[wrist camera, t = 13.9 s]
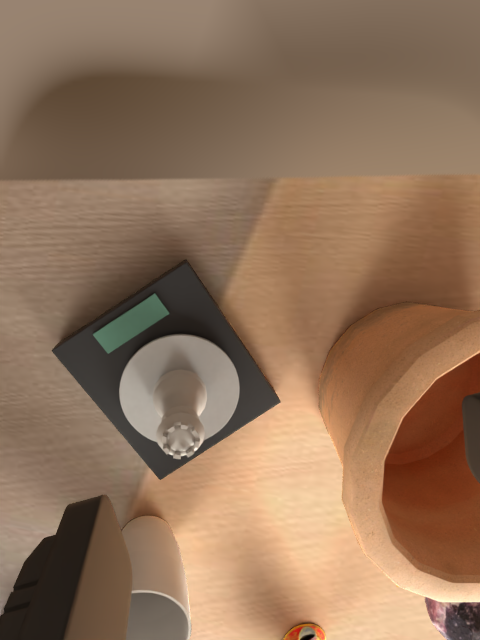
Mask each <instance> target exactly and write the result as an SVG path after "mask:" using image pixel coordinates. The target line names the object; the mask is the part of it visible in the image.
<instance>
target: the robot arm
mask: <svg viewBox="0 0 480 640" xmlns="http://www.w3.org/2000/svg"><path fill="white" fill-rule="evenodd" d="M462 416H463V429H464V442H465V455H466V460H467V463H468V466H469V468H470V470H471V472H472V474H473V476H474V477H475V479H476V480H477V481H478V482H479V483H480V392H478V393H474V394H471V395H467V396H465V397H464V399H463V401H462ZM13 588H14V592H11V594H10V596H9V598H8V601H7V603H6V605H5V607H4V614H3V615H1V617H0V640H126V634H127V626H128V618H129V609H130V601H131V593H132V566H131V560H130V555H129V552H128V549H127V546H126V543H125V540H124V538H123V535H122V532H121V529H120V526H119V523H118V521H117V518H116V515H115V512H114V509H113V507H112V504H111V501H110V499H109V498H108V496H107V495H101V496H98V497H94V498H90V499H87V500H83V501H79V502H76V503H72V504H69V505H68V506H67V507H66V509H65V511H64V514H63V517H62V519H61V522H60V525H59V527H58V530H57V533H56V535H53V536H50V537H46V538H44V539H43V540H42V541H41V542H40V544H39V545H38V546H37V547H36V548H35V550H34V551H33V552H32V553H31V555H30V556H29V557H28V558H27V559H26V561H25V562H24V564H23V566H22V569H21V571H20V573H19V575H18V578H17V580H16V582H15V585H14V587H13Z"/></svg>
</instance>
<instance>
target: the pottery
mask: <svg viewBox="0 0 480 640" xmlns="http://www.w3.org/2000/svg"><path fill="white" fill-rule="evenodd" d="M478 392H480V310H478V311H466V310H458V309H451V308H443V307H438V306H435V305H427V304H419V303H412V302H404V303H400V304H396V305H391V306H387V307H383V308H379V309H376V310H375V311H373V312H371V313H370V314H368V315H367V316H365V317H363V318H362V319H360V320H359V321H357V322H356V323H354V324H352V325H351V326H350V327H349V328H348V329H347V330H346V332H345V333H344V334H343V335H342V336H341V338H340V339H339V340H338V341H337V343H336V344H335V345H334V346H333V347H332V349H331V350H330V352H329V354H328V357H327V360H326V362H325V365H324V367H323V370H322V372H321V375H320V378H319V405H318V407H319V410H320V412H321V415H322V418H323V420H324V423H325V426H326V429H327V431H328V433H329V434H330V436H331V439H332V441H333V444H334V446H335V449H336V451H337V454H338V456H339V459H340V461H341V464H342V466H343V484H342V501H343V504H344V507H345V509H346V512H347V514H348V517H349V520H350V522H351V525H352V528H353V530H354V533H355V536H356V538H357V541H358V543H359V545H360V547H361V548H362V550H363V552H364V554H365V555H366V556H367V557H368V558H369V559H370V560H371V561H372V562H373V563H374V564H375V565H376V566H377V567H378V568H379V569H380V570H381V571H382V572H383V573H384V574H385V575H387V576H388V577H389V578H390V579H391V580H392V581H393V582H394V583H395V584H396V585H397V586H398V587H400V588H403V589H406V590H409V591H411V592H414V593H417V594H420V595H422V596H425V597H428V598H431V599H433V600H436V601H439V602H480V483H479V482H478V481H477V480H476V479H475V477H474V476H473V474H472V472H471V470H470V468H469V466H468V463H467V460H466V455H465V442H464V429H463V416H462V401H463V399H464V397H465V396H467V395H471V394H474V393H478Z"/></svg>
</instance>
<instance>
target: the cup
mask: <svg viewBox="0 0 480 640" xmlns="http://www.w3.org/2000/svg"><path fill="white" fill-rule="evenodd" d="M121 532H122V535H123V538H124V540H125V543H126V546H127V549H128V552H129V555H130V560H131V566H132V593H131V601H130V609H129V618H128V626H127V634H126V640H189V639H190V636H191V618H190V607H189V597H188V587H187V578H186V574H185V570H184V565H183V561H182V557H181V552H180V548H179V545H178V543H177V541H176V538H175V536H174V534H173V532H172V530H171V528H170V526H169V524H168V523H167V522H166V521H164V520H163V519H161V518H159V517H156V516H141V517H138V518H135V519H133V520H131V521H130V522H129V523H128V524H127V525H126V526H125V527H124V528H123V530H122V531H121Z"/></svg>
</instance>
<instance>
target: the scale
mask: <svg viewBox="0 0 480 640" xmlns="http://www.w3.org/2000/svg"><path fill="white" fill-rule="evenodd" d="M52 352H53V353H54V354H55V355H56V357H57V358H58V359H59V360H60V361H61V363H62V364H63V365H64V366H65V367H66V368H67V370H68V371H69V372H70V373H71V374H72V376H73V377H74V378H75V379H76V380H77V382H78V383H79V384H80V385H81V386H82V388H83V389H84V390H85V391H86V392H87V394H88V395H89V396H90V397H91V398H92V400H93V401H94V402H95V403H96V404H97V405H98V407H99V408H100V409H101V410H102V411H103V413H104V414H105V415H106V416H107V417H108V419H109V420H110V421H111V422H112V423H113V425H114V426H115V427H116V428H117V429H118V431H119V432H120V433H121V434H122V435H123V436H124V438H125V439H126V440H127V441H128V442H129V444H130V445H131V446H132V447H133V448H134V450H135V451H136V452H137V453H138V454H139V456H140V457H141V458H142V459H143V460H144V462H145V463H146V464H147V465H148V466H149V468H150V469H151V470H152V471H153V472H154V473H155V475H156V476H157V477H158V478H159V479H160V480H161V479H163V478H164V477H166V476H167V475H169V474H170V473H172V472H173V471H175V470H176V469H178V468H180V467H181V466H183V465H184V464H186V463H187V462H189V461H190V460H192V459H193V458H195V457H197V456H198V455H200V454H201V453H203V452H204V451H206V450H207V449H209V448H210V447H212V446H213V445H215V444H217V443H218V442H220V441H221V440H223V439H224V438H226V437H227V436H229V435H230V434H232V433H234V432H235V431H237V430H238V429H240V428H241V427H243V426H244V425H246V424H247V423H249V422H251V421H252V420H254V419H255V418H257V417H258V416H260V415H261V414H263V413H264V412H266V411H267V410H269V409H271V408H272V407H274V406H275V405H277V404H278V403H280V400H279V398H278V396H277V394H276V393H275V391H274V390H273V388H272V387H271V385H270V384H269V382H268V381H267V379H266V378H265V376H264V375H263V373H262V372H261V370H260V369H259V367H258V366H257V364H256V363H255V361H254V360H253V358H252V357H251V355H250V354H249V352H248V351H247V349H246V348H245V346H244V345H243V343H242V342H241V340H240V339H239V337H238V336H237V334H236V333H235V331H234V330H233V328H232V327H231V325H230V324H229V322H228V321H227V319H226V318H225V316H224V315H223V313H222V312H221V310H220V309H219V307H218V306H217V304H216V303H215V301H214V300H213V298H212V297H211V295H210V294H209V292H208V291H207V289H206V288H205V286H204V285H203V283H202V282H201V280H200V279H199V277H198V276H197V275H196V273H195V272H194V270H193V269H192V267H191V266H190V264H189V263H188V261H187V260H184V261H183V262H181V263H180V264H178V265H177V266H175V267H174V268H172V269H171V270H169V271H168V272H166V273H164V274H163V275H161V276H160V277H158V278H157V279H155V280H154V281H152V282H151V283H149V284H148V285H146V286H145V287H143V288H142V289H140V290H139V291H137V292H136V293H134V294H132V295H131V296H129V297H128V298H126V299H125V300H123V301H122V302H120V303H119V304H117V305H116V306H114V307H113V308H111V309H110V310H108V311H107V312H105V313H104V314H102V315H101V316H99V317H97V318H96V319H94V320H93V321H91V322H90V323H88V324H87V325H85V326H84V327H82V328H81V329H79V330H78V331H76V332H75V333H73V334H72V335H70V336H69V337H67V338H65V339H64V340H62V341H61V342H59V343H58V344H57V345H56V346H55V347H54V349H53V350H52ZM180 369H181V370H187V371H191V372H193V373H194V374H196V375H198V376H199V377H200V378H201V379H202V381H203V382H204V384H205V386H206V392H207V396H206V397H207V400H206V404H205V408H204V410H203V411H202V413H201V414H200V415H199V419H200V422H201V423H202V425H203V427H204V432H205V436H204V440H203V443H202V444H201V445H200V447H199V448H198V449H197V450H196V451H194V454H193V455H191V456H190V457H187V455H184V456H181V459H175V458H173V455H170V454H166V453H165V452H164V451H163V450H162V448H161V447H160V446H159V445H158V442H157V438H156V433H157V429H158V426H159V425H160V423H161V419H162V418H161V417H160V416H159V414H158V413H157V412H156V410H155V408H154V403H153V390H154V386H155V384H156V383H157V381H158V380H159V379H160V377H162V376H163V375H165V374H166V373H168V372H170V371H174V370H180Z"/></svg>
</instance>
